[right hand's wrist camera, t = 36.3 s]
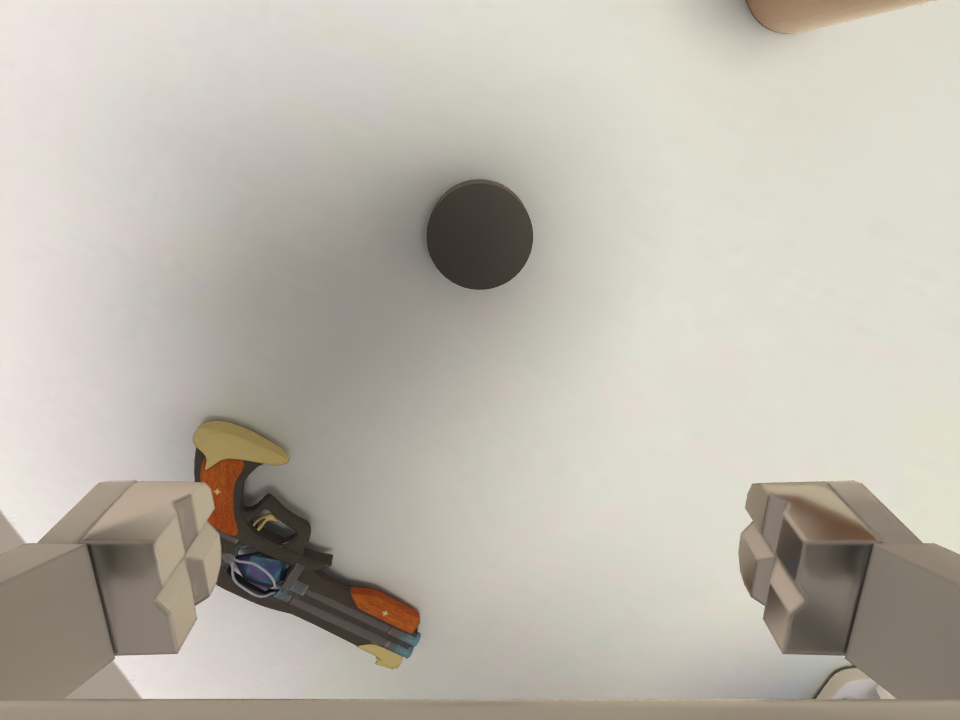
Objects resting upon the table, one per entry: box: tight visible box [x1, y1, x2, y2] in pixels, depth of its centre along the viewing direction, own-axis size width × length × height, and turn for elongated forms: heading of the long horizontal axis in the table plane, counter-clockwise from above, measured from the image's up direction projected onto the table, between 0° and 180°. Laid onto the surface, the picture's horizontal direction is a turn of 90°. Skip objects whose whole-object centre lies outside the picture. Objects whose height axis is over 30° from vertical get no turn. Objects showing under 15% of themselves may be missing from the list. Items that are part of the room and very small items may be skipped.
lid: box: [427, 180, 533, 290], centre depth 35 cm, size 5×5×2 cm
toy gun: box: [193, 421, 421, 669], centre depth 41 cm, size 3×19×10 cm
